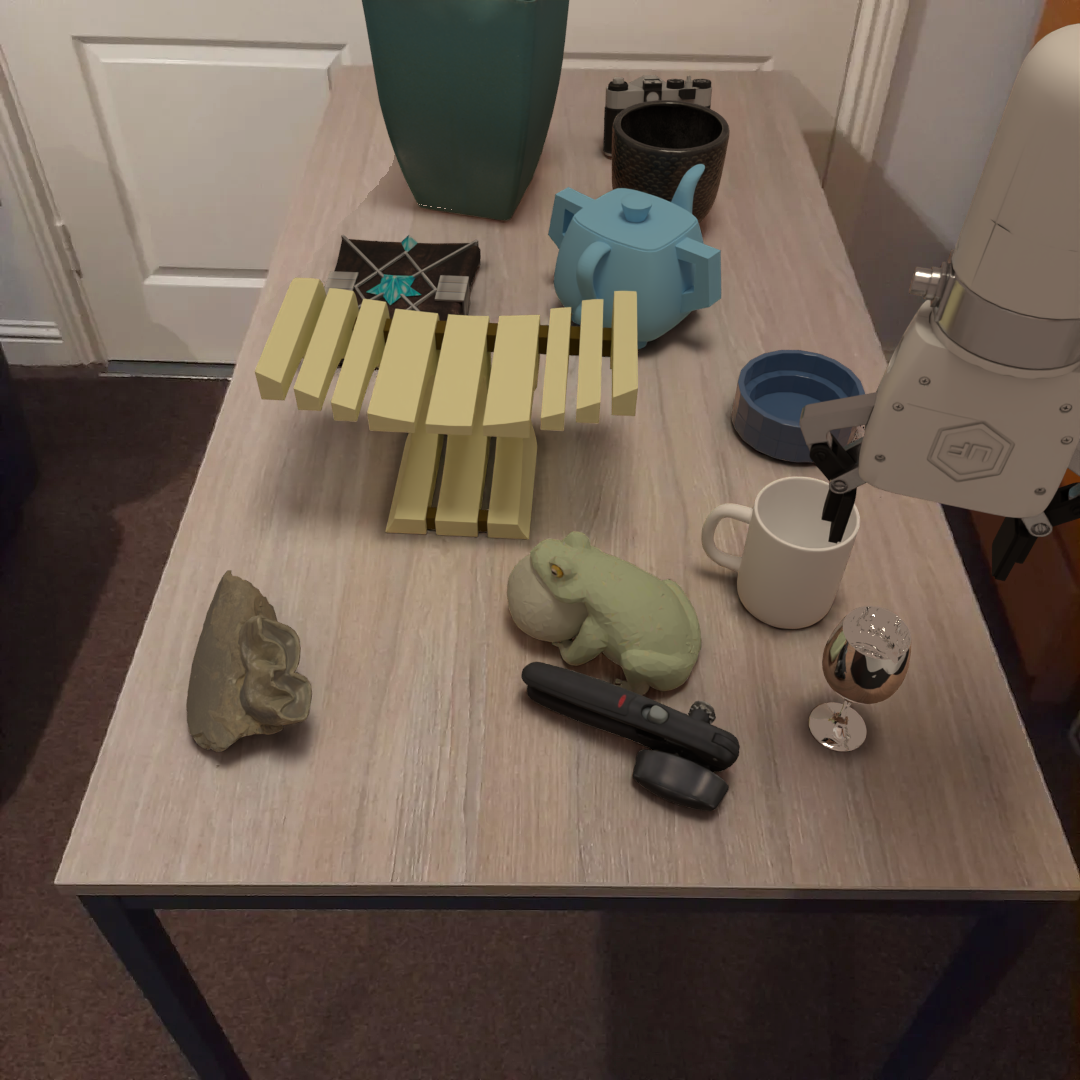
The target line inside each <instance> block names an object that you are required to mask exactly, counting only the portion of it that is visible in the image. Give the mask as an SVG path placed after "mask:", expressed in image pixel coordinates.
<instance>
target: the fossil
mask: <svg viewBox="0 0 1080 1080" xmlns="http://www.w3.org/2000/svg"><path fill="white" fill-rule="evenodd" d="M299 637H300V636H299V634H298V633H297V632H296V630H295V629H294V628H292V627H291V626H290V625H287V624H285V623H282V622H280V621H278V617H277V613H276V610H275V607H274V606H273V605H272V604H271V603H270V602H269V601H268V598H267V596H265V595H263V594H262V592H261V591H260V589H258V588H257V587H256V586H254V584H252V582H251V581H248V580H246V579H243V578H242V577H240V576H238V575H233V574H232V570H231V569H228V570H226V572H224V574H223V575H222V577H221V579H220V580H219V583H218V584H217V587H216V589H215V592H214V595H213V597H212V599H211V602H210V604H209V607H208V610H207V612H206V614H205V617H204V621H203V624H202V629H201V631H200V634H199V638H198V641H197V645H196V649H195V651H194V655H193V659H192V662H191V669H190V675H189V681H188V687H187V696H186V702H185V703H186V704H185V707H186V723H187V726H188V733H189V735H190V736H192V738H193V739H194V741H195V743H196V744H197V745H198V746H199V747H200V748H202V749H204V750H207V751H209V750H210V749H211V750H212V751H213V752H216V753H219V752H224V751H225V750H227V749H229V747H230V746H231V745H234V743H236V742H237V741H238V740H239V739H241V738H244V737H247V736H254V735H274V734H277V733H279V732H281V731H283V730H284V726H287V725H288V726H289V725H294V724H297V723H299V722H300V723H302V722H305V721H306V720H307V719H308V716H309V714H310V709H311V703H312V696H313V691H312V683H311V681H309V679H308V677H306V676H305V675H303V674H301V673H299V672H296V671H297V669H298V667H299V665H300V661H301V653H302V651H301V650H302V649H301V647H302V646H301V641H300V638H299Z"/></svg>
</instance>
